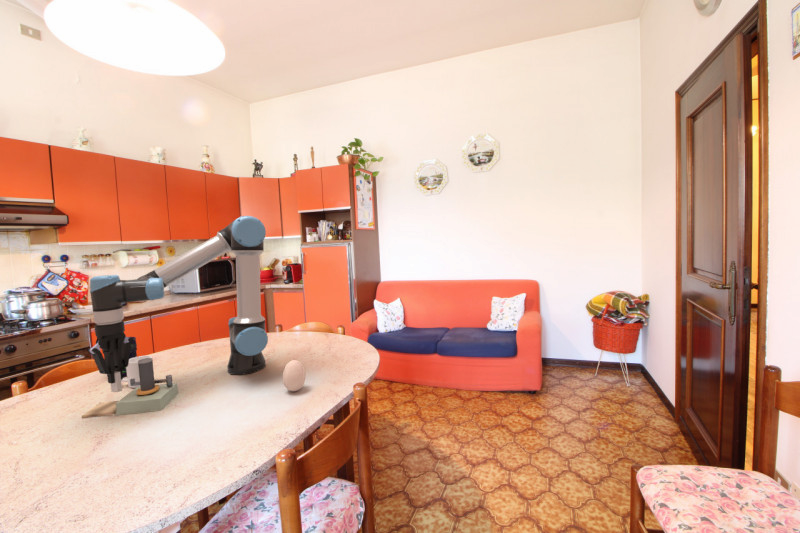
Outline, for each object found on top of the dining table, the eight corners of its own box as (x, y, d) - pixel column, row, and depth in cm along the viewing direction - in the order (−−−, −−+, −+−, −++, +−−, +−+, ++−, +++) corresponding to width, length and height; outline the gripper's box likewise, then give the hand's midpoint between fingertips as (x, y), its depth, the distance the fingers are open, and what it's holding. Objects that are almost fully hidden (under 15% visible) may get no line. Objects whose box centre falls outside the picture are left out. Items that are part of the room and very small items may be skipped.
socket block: (178, 393, 127) (177, 382, 127) (161, 410, 115) (160, 398, 114) (138, 397, 125) (137, 386, 125) (116, 415, 112) (115, 403, 112)
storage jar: (104, 377, 146) (100, 342, 144) (130, 368, 155) (126, 335, 153) (119, 380, 142) (115, 344, 141) (144, 371, 151) (141, 337, 150)
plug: (164, 398, 124) (160, 355, 122) (155, 406, 117) (150, 362, 116) (144, 400, 122) (139, 357, 121) (134, 409, 116) (129, 364, 115)
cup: (149, 386, 135) (147, 361, 134) (112, 391, 131) (109, 365, 130) (157, 378, 142) (155, 354, 142) (122, 382, 139) (120, 358, 138)
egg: (310, 389, 127) (308, 359, 126) (290, 397, 121) (288, 366, 120) (299, 384, 132) (297, 355, 131) (279, 391, 126) (277, 361, 125)
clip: (173, 384, 124) (172, 374, 124) (171, 386, 123) (170, 376, 122) (133, 388, 122) (132, 378, 122) (130, 391, 120) (129, 380, 120)
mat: (129, 401, 122) (129, 399, 122) (113, 414, 113) (113, 412, 113) (99, 404, 120) (99, 402, 120) (81, 418, 111) (81, 415, 111)
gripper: (121, 317, 121) (127, 382, 123) (78, 326, 109) (86, 399, 111) (137, 317, 119) (144, 383, 121) (96, 327, 107) (104, 401, 109)
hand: (116, 390), depth 116 cm, fingers closed
